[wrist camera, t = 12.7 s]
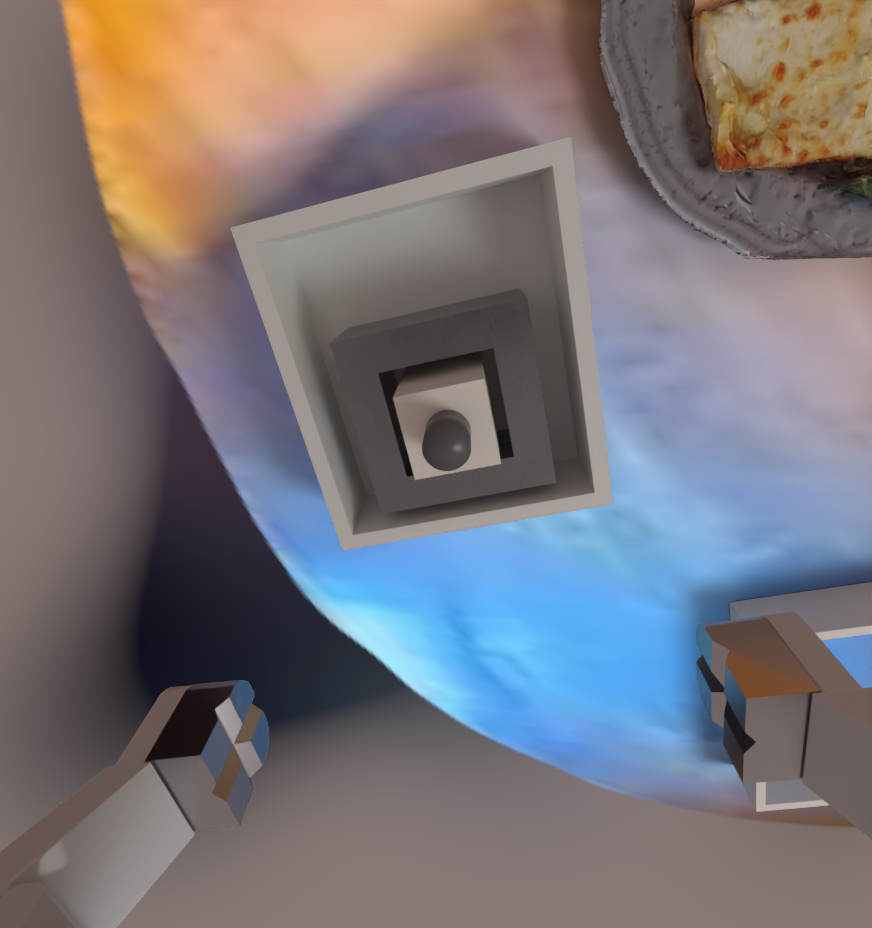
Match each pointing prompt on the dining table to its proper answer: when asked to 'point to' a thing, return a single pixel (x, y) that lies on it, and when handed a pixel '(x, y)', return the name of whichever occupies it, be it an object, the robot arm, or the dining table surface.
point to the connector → (447, 416)
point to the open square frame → (829, 619)
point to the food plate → (751, 118)
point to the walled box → (425, 287)
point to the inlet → (434, 338)
